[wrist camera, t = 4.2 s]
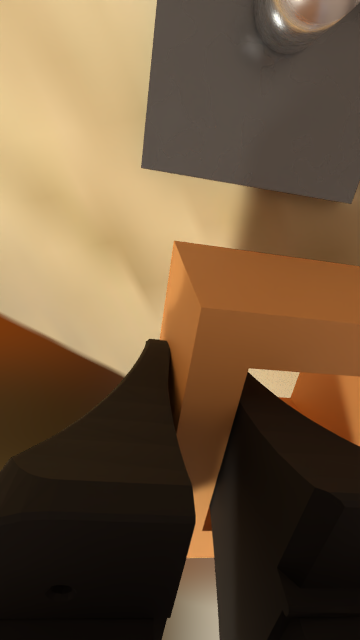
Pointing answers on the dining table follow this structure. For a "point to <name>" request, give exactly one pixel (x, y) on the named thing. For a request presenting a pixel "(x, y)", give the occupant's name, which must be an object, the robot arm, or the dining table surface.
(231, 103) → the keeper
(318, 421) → the orange hollow block
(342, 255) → the dining table surface
